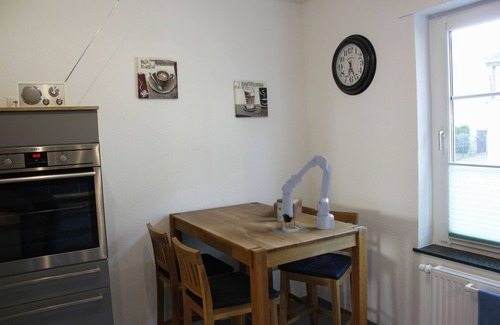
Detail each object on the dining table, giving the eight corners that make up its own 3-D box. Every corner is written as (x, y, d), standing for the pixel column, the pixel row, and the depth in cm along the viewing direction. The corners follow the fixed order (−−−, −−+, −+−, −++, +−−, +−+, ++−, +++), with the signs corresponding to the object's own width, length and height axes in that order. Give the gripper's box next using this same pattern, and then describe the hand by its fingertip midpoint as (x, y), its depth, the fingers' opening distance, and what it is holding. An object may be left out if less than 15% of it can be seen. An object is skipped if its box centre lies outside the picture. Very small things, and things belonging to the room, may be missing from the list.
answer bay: (295, 228, 229) (295, 225, 228) (299, 231, 221) (299, 228, 221) (281, 229, 227) (281, 227, 227) (285, 232, 219) (285, 229, 219)
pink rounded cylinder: (297, 226, 233) (297, 220, 233) (299, 227, 230) (299, 222, 229) (291, 227, 233) (291, 221, 232) (293, 228, 229) (293, 222, 228)
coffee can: (294, 219, 257) (294, 198, 256) (290, 223, 248) (290, 201, 247) (279, 219, 261) (279, 198, 260) (275, 222, 251) (274, 200, 250)
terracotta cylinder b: (278, 227, 232) (277, 221, 231) (284, 228, 229) (283, 222, 229) (274, 229, 229) (274, 223, 228) (280, 229, 226) (279, 224, 226)
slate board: (301, 227, 236) (301, 225, 236) (311, 233, 220) (311, 231, 220) (269, 229, 231) (269, 228, 231) (277, 236, 216) (277, 234, 216)
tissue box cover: (294, 218, 262) (294, 204, 261) (273, 218, 266) (273, 203, 266) (302, 211, 286) (301, 198, 285) (283, 211, 291) (282, 197, 290)
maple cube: (291, 228, 228) (291, 222, 228) (294, 230, 224) (293, 223, 224) (285, 229, 227) (285, 222, 227) (287, 230, 223) (287, 223, 223)
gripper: (277, 202, 234) (277, 224, 235) (284, 206, 220) (285, 230, 221) (288, 201, 236) (289, 224, 237) (296, 205, 222) (296, 229, 222)
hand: (287, 227), depth 229 cm, fingers closed
